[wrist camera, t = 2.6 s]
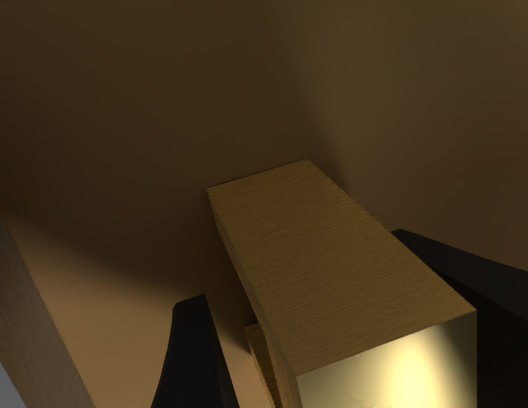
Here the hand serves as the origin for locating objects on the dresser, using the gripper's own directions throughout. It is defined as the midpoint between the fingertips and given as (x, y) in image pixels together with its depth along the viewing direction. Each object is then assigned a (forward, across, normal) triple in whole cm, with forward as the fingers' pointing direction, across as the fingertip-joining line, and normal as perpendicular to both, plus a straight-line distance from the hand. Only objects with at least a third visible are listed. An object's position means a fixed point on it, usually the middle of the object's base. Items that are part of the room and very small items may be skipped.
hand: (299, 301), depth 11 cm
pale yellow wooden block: (+2, 0, 0) cm, 2 cm away
